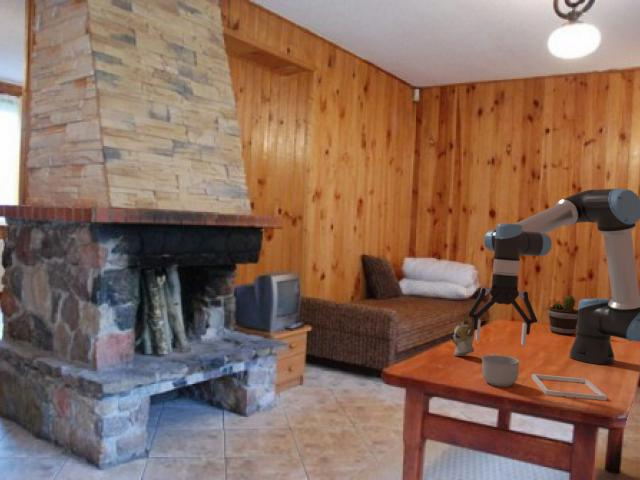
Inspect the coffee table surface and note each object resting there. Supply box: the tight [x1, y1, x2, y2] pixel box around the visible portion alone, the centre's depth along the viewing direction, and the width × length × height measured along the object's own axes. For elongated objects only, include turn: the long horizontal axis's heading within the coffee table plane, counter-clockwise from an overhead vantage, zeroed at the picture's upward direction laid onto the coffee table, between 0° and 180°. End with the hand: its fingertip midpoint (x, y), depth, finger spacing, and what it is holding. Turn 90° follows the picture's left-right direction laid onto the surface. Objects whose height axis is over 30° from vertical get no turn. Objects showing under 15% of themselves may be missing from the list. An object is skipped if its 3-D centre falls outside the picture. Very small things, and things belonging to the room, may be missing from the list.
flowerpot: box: [546, 293, 578, 336], centre depth 265 cm, size 14×15×20 cm
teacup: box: [481, 353, 520, 388], centre depth 173 cm, size 14×11×8 cm
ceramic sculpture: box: [450, 313, 476, 357], centre depth 206 cm, size 11×9×15 cm
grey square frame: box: [531, 373, 608, 401], centre depth 170 cm, size 17×19×2 cm
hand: (500, 342), depth 172 cm, fingers open, 13 cm apart
